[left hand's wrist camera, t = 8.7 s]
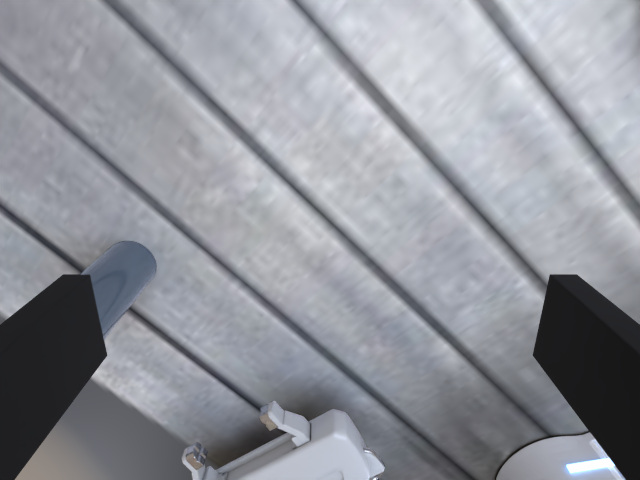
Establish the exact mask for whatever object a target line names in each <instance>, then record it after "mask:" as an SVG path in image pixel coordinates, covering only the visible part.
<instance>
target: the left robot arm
mask: <svg viewBox="0 0 640 480" xmlns="http://www.w3.org/2000/svg"><path fill="white" fill-rule="evenodd" d="M106 356H107V352H106V347H105V343H104V338H103V333H102V329H101V324H100V319H99V314H98V310H97V305H96V300H95V295H94V291H93V286H92V281H91V277H90V275H62V276H61V277H60V278H58V279H57V280H56V281H55V282H53V283H52V284H51V285H50V286H48V287H47V288H46V289H45V290H43V291H42V292H41V293H40V294H38V295H37V296H36V297H35V298H33V299H32V300H31V301H30V302H28V303H27V304H26V305H24V306H23V307H22V308H21V309H19V310H18V311H17V312H16V313H14V314H13V315H12V316H11V317H9V318H8V319H7V320H6V321H4V322H3V323H2V324H1V325H0V480H15V478H16V477H17V475H18V474H19V473H20V471H21V470H22V469H23V468H24V466H25V465H26V463H27V462H28V461H29V459H30V458H31V457H32V455H33V454H34V453H35V451H36V450H37V449H38V447H39V446H40V445H41V443H42V442H43V441H44V439H45V438H46V437H47V435H48V434H49V433H50V431H51V430H52V429H53V427H54V426H55V425H56V423H57V422H58V421H59V419H60V418H61V416H62V415H63V414H64V412H65V411H66V410H67V409H68V407H69V406H70V405H71V403H72V402H73V400H74V399H75V398H76V396H77V395H78V394H79V392H80V391H81V390H82V388H83V387H84V386H85V384H86V383H87V382H88V380H89V379H90V378H91V376H92V375H93V374H94V372H95V371H96V370H97V368H98V367H99V366H100V364H101V363H102V362H103V360H104V359H105V358H106ZM533 356H534V358H535V359H536V360H537V362H538V363H539V364H540V366H541V367H542V368H543V370H544V371H545V372H546V374H547V375H548V376H549V378H550V379H551V380H552V382H553V383H554V384H555V386H556V387H557V388H558V390H559V391H560V392H561V394H562V395H563V396H564V398H565V399H566V400H567V402H568V403H569V405H570V406H571V407H572V409H573V410H574V411H575V413H576V414H577V415H578V417H579V418H580V419H581V421H582V422H583V423H584V425H585V426H586V427H587V429H588V430H589V431H590V433H591V434H592V435H593V437H594V438H595V439H596V441H597V442H598V443H599V445H600V446H601V447H602V449H603V450H604V451H605V453H606V454H607V455H608V457H609V458H610V459H611V461H612V462H613V464H614V465H615V466H616V468H617V469H618V470H619V472H620V473H621V474H622V476H623V477H624V478H625V480H640V325H639V324H638V323H637V322H636V321H634V320H633V319H632V318H631V317H629V316H628V315H627V314H626V313H624V312H623V311H622V310H621V309H619V308H618V307H617V306H616V305H614V304H613V303H612V302H610V301H609V300H608V299H607V298H605V297H604V296H603V295H602V294H600V293H599V292H598V291H597V290H595V289H594V288H593V287H592V286H590V285H589V284H588V283H587V282H585V281H584V280H583V279H582V278H580V277H579V276H578V275H550V277H549V281H548V286H547V291H546V295H545V300H544V305H543V310H542V314H541V319H540V324H539V329H538V333H537V338H536V343H535V347H534V352H533Z"/></svg>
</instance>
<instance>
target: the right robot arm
mask: <svg viewBox="0 0 640 480" xmlns="http://www.w3.org/2000/svg"><path fill="white" fill-rule="evenodd" d="M260 411H261V413H260V415H259V417H260V420H261V422H262V423H263V424H266V427H267V428H268V430H269V431H271V430H273V429H275V428H278V429H281V430H283V431H285V432H287V433H285V434H283V435H282V436H280V437H278V438H276V439H274V440H272V441H270V442H268V443H266V444H264V445H262V446H260V447H259V448H257V449H255V450H253V451H251V452H249V453H247V454H245V455H243V456H241V457H239V458H238V459H236V460H234V461H232V462H230V463H228V464H226V465H224V466H222V467H220V468H218V469H216V470H215V469H213V468H212V467H211V466H208V467H207V468H206V467H205V458H206V457H207V453H208V451H207V450H206V449H205V448H204V447H201V444H200V443H195V444H193V445H191V446H189V447H188V448H186V449H185V450H184V453H183V456H182V462H183V464H184V465H185V466H186V467H187V468H188V469H189V470H190V471H192V478H193V480H379V477H380V476H381V475H382V474H383V472H384V469H385V467H384V463H383V461H382V460H381V458H380V457H379V456H378V455H377V454H376V452H375V451H373V450H372V449H370V448H366V445H365V443H364V441H363V439H362V437H361V435H360V433H359V431H358V429H357V428H356V426H355V425H354V423H353V422H352V420H351V419H350V417H349V416H348V415H347V414H346V413H345V412H343V411H340V410H336V409H332V410H329V411H327V412H325V413H324V414H322V415H320V416H318V417H316V418H314V419H312V420H310V421H307V420H306V419H305V418H304V416H301V415H298V414H295V413H292V412H289V411H286V410H285V411H284V410H283V409H282V408H281V407H280V406H279V405H278V403H277V402H276V401H272V402H270V403H269V404H267V405H265V406H263V407H261V409H260ZM496 480H625V478H624V477H623V476H622V474H621V473H620V472H619V470H618V469H617V468H616V466H615V465H614V464H613V462H612V461H611V459H610V458H609V457H608V455H607V454H606V453H605V451H604V450H603V449H602V447H601V446H600V445H599V443H598V442H597V441H596V439H595V438H594V437H593V435H592V434H591V433H590V432H589V433H586V434H583V435H578V436H559V437H553V438H548V439H544V440H541V441H538V442H535V443H533V444H530V445H528V446H526V447H525V448H523V449H521V450H520V451H518V452H517V453H515V454H514V455H513V456H512V457H511V458H509V459H508V460H507V462H506V463H505V464H504V465H503V466H502V468H501V469H500V471H499V473H498V475H497V478H496Z"/></svg>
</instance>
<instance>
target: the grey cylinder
mask: <svg viewBox="0 0 640 480" xmlns="http://www.w3.org/2000/svg"><path fill="white" fill-rule="evenodd" d="M155 273H156V262H155V259H154V257H153V255H152V254H151V252H150V251H149V250H148V249H147V248H145V247H144V246H143V245H141V244H138V243H136V242H131V241H123V242H119V243H116V244H115V245H113V246H112V247H111V248H109V249H108V250H107V251H106V252H105V253H104V254H102V255H101V256H100V257H99V258H98V259H97V260H95V261H94V262H93V263H92V264H91V265H90V266H88V267H87V268H86V269H85V270H84V271H83V272H82V273H80V274H79V275H90V277H91V281H92V286H93V291H94V295H95V300H96V305H97V310H98V314H99V319H100V324H101V329H102V333H103V338H104V339H105V338H106V337H107V335H108V334H109V333H110V332H111V330H112V329H113V328H114V327H115V325H116V324H117V323H118V322H119V320H120V319H121V318H122V317H123V315H124V314H125V313H126V311H127V310H128V309H129V308H130V306H131V305H132V304H133V303H134V301H135V300H136V299H137V298H138V296H139V295H140V294H141V293H142V291H143V290H144V289H145V288H146V286H147V285H148V284H149V282H150V281H151V280H152V279H153V277H154V275H155Z"/></svg>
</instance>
